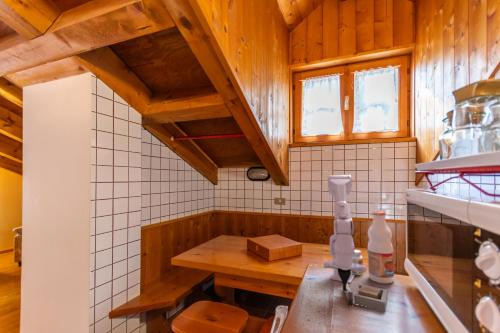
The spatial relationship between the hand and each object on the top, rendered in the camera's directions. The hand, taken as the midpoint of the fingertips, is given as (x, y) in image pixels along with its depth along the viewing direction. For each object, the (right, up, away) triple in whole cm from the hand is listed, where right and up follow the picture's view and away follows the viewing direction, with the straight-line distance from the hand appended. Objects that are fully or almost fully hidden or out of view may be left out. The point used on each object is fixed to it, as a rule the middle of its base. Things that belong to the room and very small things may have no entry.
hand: (344, 289), depth 91 cm
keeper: (+1, -2, -1) cm, 3 cm away
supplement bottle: (+13, -3, +21) cm, 25 cm away
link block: (+7, -2, -4) cm, 9 cm away
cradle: (+8, -2, -4) cm, 9 cm away
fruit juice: (+20, -3, +14) cm, 25 cm away
